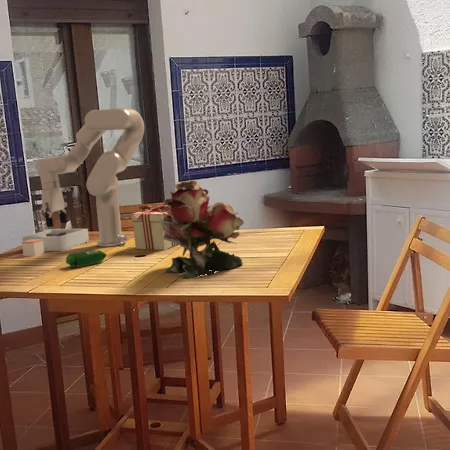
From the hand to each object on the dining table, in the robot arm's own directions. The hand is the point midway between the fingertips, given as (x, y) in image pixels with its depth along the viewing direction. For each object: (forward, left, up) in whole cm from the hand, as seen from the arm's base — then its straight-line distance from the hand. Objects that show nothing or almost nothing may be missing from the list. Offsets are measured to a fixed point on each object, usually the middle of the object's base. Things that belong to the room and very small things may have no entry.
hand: (57, 224), depth 281 cm
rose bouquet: (-83, +34, -10) cm, 90 cm away
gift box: (-50, 0, -10) cm, 51 cm away
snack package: (-37, +33, -10) cm, 51 cm away
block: (+1, 0, -9) cm, 9 cm away
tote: (+1, 0, -10) cm, 10 cm away
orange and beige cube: (0, +17, -10) cm, 20 cm away
